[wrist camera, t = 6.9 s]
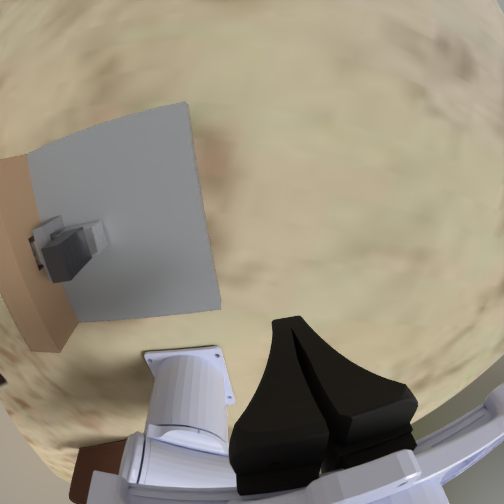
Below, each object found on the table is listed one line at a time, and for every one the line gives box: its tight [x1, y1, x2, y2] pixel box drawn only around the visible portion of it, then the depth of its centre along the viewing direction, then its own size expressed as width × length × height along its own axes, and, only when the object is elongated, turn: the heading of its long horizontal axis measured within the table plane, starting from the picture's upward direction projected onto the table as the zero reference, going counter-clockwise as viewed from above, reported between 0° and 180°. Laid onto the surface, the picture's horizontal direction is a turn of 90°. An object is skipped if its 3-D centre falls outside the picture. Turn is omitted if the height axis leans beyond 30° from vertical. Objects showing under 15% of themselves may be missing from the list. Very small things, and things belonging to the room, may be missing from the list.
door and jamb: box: [0, 102, 221, 353], centre depth 18 cm, size 18×16×6 cm
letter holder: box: [69, 440, 127, 504], centre depth 29 cm, size 10×20×14 cm, turn 123°
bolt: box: [28, 220, 108, 283], centre depth 16 cm, size 10×2×5 cm, turn 97°
